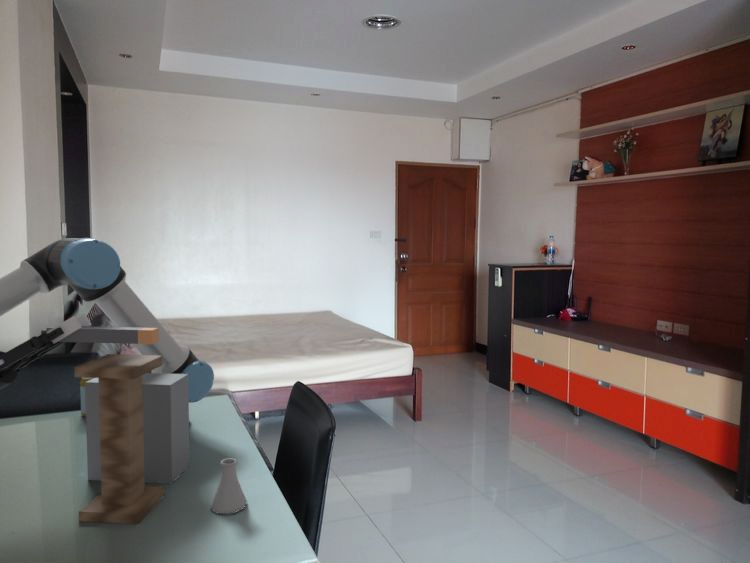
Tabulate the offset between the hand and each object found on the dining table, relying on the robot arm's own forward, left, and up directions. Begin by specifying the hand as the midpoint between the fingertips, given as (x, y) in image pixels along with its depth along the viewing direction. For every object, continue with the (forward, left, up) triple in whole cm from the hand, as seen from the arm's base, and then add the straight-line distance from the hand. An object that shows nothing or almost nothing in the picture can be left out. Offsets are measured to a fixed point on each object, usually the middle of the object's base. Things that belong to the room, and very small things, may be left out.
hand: (82, 320), depth 113 cm
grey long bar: (-3, +3, -4) cm, 6 cm away
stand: (-6, +5, -39) cm, 40 cm away
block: (-13, -11, -39) cm, 43 cm away
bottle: (-12, -65, -39) cm, 77 cm away
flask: (-24, +17, -39) cm, 49 cm away
